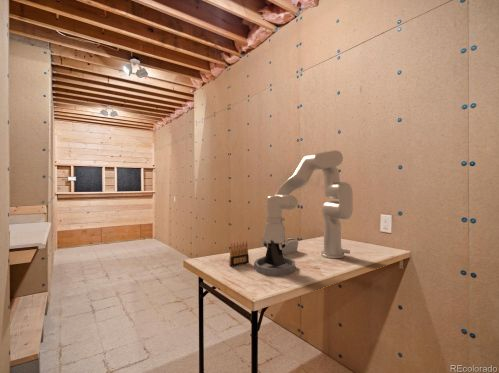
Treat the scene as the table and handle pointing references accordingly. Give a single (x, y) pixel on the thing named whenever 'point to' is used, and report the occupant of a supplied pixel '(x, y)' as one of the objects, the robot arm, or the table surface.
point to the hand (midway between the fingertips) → (274, 256)
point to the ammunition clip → (238, 254)
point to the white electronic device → (290, 246)
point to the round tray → (273, 270)
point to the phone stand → (274, 255)
